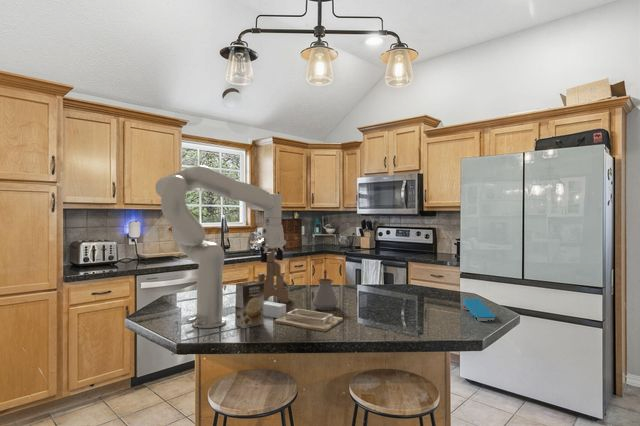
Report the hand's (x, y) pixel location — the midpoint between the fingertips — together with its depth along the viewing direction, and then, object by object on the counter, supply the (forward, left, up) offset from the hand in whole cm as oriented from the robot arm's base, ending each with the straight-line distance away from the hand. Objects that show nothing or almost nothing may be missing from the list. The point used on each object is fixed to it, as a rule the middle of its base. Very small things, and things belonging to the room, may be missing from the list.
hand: (271, 261), depth 164 cm
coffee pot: (+21, -16, -22) cm, 34 cm away
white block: (-4, -3, -22) cm, 23 cm away
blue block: (+40, -79, -23) cm, 91 cm away
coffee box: (-19, -4, -22) cm, 30 cm away
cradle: (-4, -22, -22) cm, 31 cm away
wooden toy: (+16, +10, -22) cm, 29 cm away
